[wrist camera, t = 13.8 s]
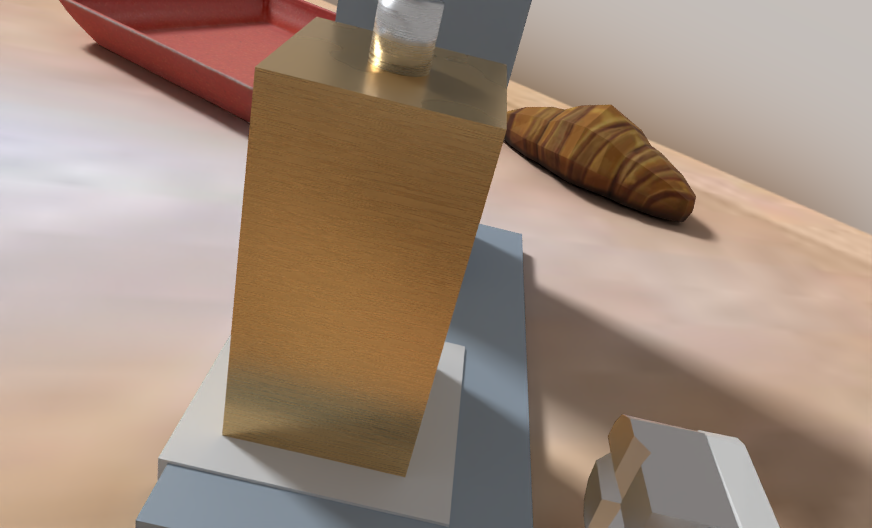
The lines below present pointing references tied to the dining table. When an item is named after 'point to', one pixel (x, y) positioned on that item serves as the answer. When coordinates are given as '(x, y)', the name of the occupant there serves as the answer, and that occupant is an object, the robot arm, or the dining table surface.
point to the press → (446, 407)
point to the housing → (357, 232)
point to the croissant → (602, 157)
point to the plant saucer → (197, 39)
